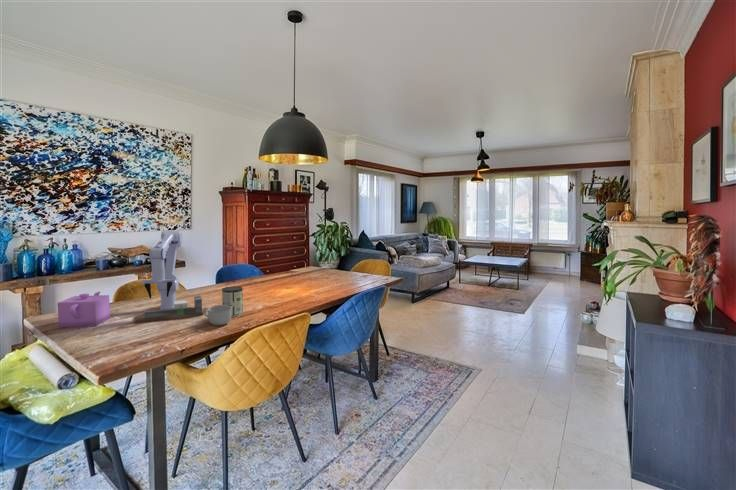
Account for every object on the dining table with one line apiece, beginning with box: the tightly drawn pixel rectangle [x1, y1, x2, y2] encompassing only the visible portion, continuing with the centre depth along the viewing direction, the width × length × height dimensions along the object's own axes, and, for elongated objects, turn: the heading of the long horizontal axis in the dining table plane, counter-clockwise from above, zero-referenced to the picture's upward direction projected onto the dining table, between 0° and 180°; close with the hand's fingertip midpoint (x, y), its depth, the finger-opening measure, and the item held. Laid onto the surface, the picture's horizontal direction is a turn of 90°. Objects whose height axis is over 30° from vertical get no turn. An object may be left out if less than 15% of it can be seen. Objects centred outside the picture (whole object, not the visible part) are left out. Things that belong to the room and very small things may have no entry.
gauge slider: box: [173, 300, 188, 309], centre depth 186 cm, size 9×6×5 cm
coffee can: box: [221, 286, 244, 318], centre depth 190 cm, size 10×10×14 cm
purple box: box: [57, 291, 111, 328], centre depth 173 cm, size 15×25×14 cm, turn 12°
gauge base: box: [134, 294, 204, 324], centre depth 185 cm, size 12×30×8 cm, turn 119°
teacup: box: [202, 304, 232, 327], centre depth 175 cm, size 14×11×8 cm
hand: (159, 297), depth 186 cm, fingers open, 7 cm apart
